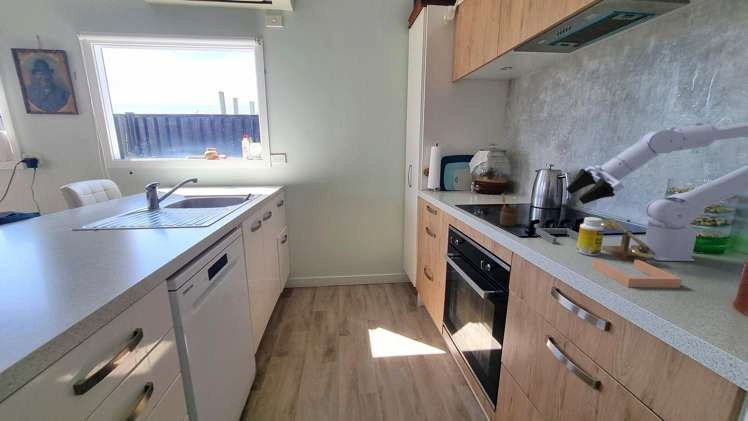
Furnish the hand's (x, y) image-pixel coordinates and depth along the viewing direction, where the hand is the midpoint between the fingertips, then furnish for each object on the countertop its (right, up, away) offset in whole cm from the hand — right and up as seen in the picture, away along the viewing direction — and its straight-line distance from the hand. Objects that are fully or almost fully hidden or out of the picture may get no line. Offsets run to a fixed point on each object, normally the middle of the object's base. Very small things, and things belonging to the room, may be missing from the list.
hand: (574, 196), depth 85 cm
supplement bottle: (+3, -17, -1) cm, 17 cm away
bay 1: (+4, -14, +11) cm, 18 cm away
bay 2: (+2, -20, -16) cm, 25 cm away
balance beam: (+12, -12, -3) cm, 17 cm away
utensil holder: (-6, -10, +30) cm, 32 cm away
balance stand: (+12, -17, -3) cm, 21 cm away
